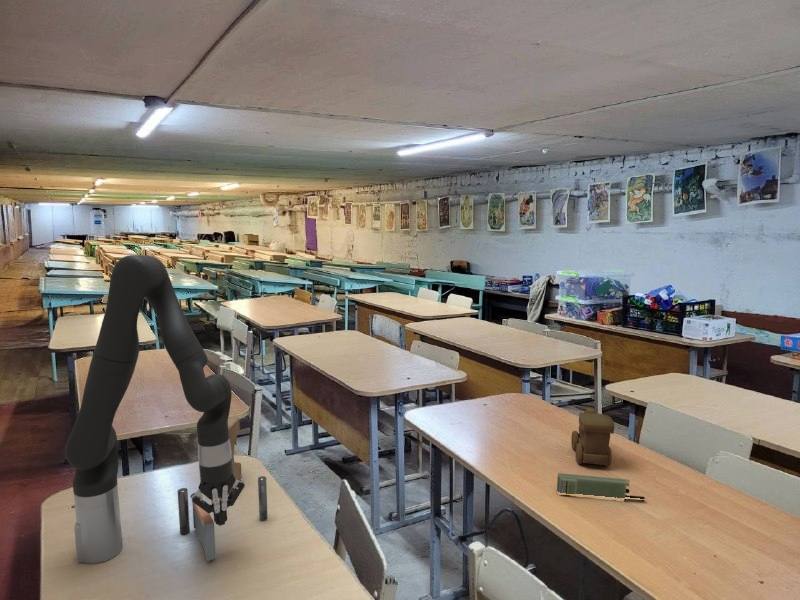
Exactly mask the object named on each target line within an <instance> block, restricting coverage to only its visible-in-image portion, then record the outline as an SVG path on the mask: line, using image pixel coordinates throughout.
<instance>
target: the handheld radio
mask: <svg viewBox="0 0 800 600" xmlns="http://www.w3.org/2000/svg"><path fill="white" fill-rule="evenodd" d="M556 483H557V484H556V492H557V491H558V492H560V493H566V494H583V495H594V496H605V497H615V498H616V497H617V498H625V497H630V498H640V499H645V500H646V498H645V496H642V495H641V496H640V495H628V494H630V489H629V488H627V487H630V483H631V481H630V479H627V478H617V477H616V478H615V477H606V476H595V475H586V474H585V475H583V474H572V473H561V472H558V473H557V481H556Z"/></svg>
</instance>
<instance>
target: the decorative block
mask: <svg viewBox="0 0 800 600" xmlns="http://www.w3.org/2000/svg"><path fill="white" fill-rule="evenodd" d="M240 426H241V425H240V418H239V417H237V416H229V417H228V431H229V440H230V445H231V451H232V466H233V475H234V477H235V478H236V479H237V480H241V477H242V474H243V473H242V463H241V462H235V454H234V453H235V451H234V450H235V445H236V440H237V437H238V435H239V433H240V432H241V430H240V429H241V427H240ZM232 489H233V487H232V488H231V490H230V492H231V491H232Z"/></svg>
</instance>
